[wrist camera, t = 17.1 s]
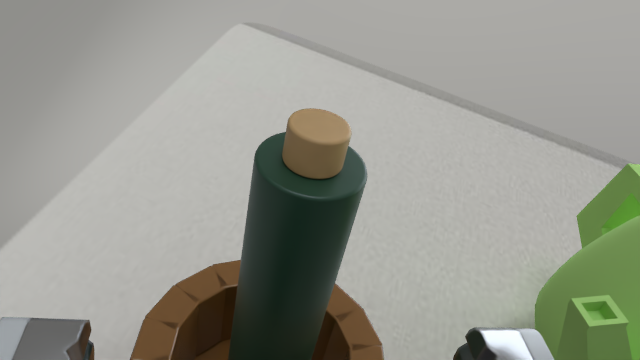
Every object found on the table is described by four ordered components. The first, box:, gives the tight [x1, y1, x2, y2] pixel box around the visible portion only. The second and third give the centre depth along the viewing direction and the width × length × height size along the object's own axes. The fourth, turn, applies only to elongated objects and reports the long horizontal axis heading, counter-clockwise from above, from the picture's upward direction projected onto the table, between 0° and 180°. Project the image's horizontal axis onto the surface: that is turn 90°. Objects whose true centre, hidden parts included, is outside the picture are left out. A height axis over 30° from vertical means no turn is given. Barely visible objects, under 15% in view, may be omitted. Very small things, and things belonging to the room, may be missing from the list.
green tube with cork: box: [228, 109, 367, 360], centre depth 14 cm, size 3×3×12 cm
